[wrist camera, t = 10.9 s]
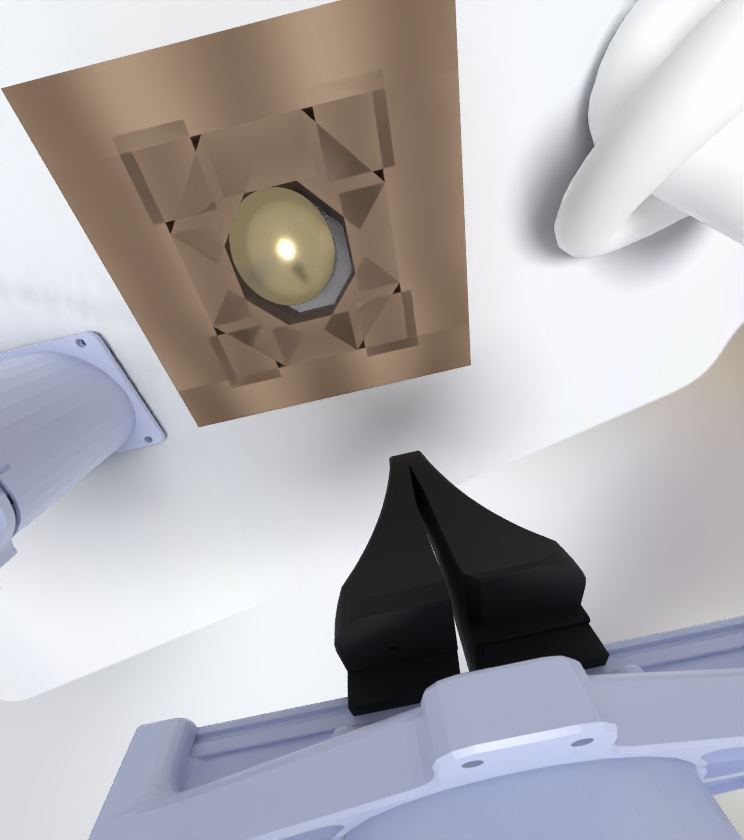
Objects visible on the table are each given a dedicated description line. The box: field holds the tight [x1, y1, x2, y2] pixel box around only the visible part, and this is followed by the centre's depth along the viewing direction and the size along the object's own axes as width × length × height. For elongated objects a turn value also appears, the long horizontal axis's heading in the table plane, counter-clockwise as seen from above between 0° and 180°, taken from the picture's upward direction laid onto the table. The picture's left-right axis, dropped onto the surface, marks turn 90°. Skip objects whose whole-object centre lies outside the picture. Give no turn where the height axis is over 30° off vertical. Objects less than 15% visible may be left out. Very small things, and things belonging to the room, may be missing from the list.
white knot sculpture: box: [554, 0, 744, 257], centre depth 12 cm, size 11×12×9 cm
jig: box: [1, 0, 471, 427], centre depth 15 cm, size 16×14×4 cm
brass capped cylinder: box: [229, 187, 337, 305], centre depth 14 cm, size 4×4×6 cm
